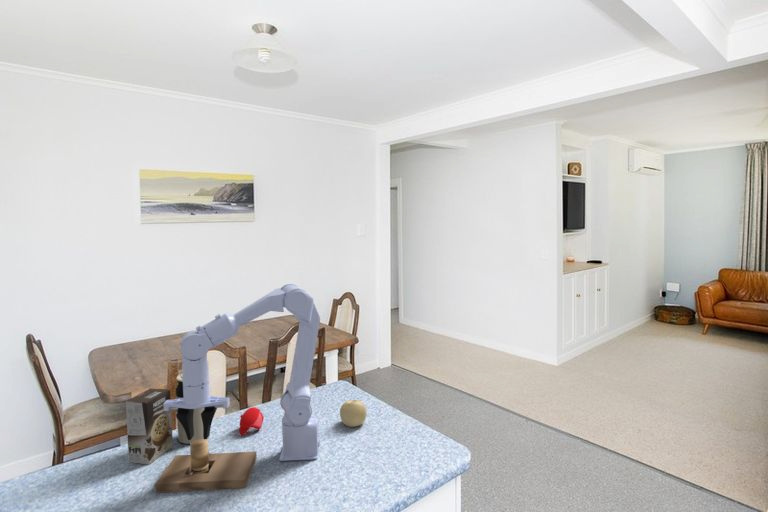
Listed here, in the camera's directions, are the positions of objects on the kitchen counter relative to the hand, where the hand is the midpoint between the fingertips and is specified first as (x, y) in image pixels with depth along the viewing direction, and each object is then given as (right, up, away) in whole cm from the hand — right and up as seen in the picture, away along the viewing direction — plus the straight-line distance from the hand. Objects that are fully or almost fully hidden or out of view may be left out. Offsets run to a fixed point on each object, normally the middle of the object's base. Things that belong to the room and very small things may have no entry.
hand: (198, 437), depth 104 cm
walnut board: (+2, -9, +1) cm, 10 cm away
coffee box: (-17, -9, +10) cm, 22 cm away
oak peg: (0, -9, +1) cm, 9 cm away
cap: (+5, -8, +23) cm, 25 cm away
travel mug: (-9, -8, +19) cm, 23 cm away
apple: (+35, -7, +27) cm, 45 cm away
